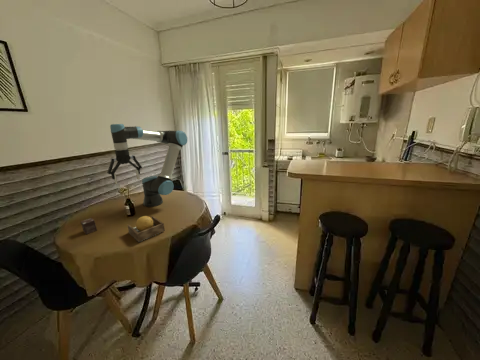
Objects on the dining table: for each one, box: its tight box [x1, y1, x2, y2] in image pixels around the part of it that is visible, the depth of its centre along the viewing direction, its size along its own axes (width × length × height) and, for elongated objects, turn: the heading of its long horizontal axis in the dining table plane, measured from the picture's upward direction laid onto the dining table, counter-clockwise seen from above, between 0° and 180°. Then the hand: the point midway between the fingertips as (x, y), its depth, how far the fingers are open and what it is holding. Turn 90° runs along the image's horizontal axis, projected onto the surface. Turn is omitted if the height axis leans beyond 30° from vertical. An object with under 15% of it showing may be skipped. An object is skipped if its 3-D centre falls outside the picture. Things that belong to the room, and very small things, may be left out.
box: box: [80, 217, 98, 235], centre depth 128 cm, size 6×6×7 cm
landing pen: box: [127, 215, 166, 243], centre depth 126 cm, size 16×16×6 cm
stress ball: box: [135, 215, 153, 232], centre depth 125 cm, size 10×10×10 cm
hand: (127, 181), depth 134 cm, fingers open, 13 cm apart
